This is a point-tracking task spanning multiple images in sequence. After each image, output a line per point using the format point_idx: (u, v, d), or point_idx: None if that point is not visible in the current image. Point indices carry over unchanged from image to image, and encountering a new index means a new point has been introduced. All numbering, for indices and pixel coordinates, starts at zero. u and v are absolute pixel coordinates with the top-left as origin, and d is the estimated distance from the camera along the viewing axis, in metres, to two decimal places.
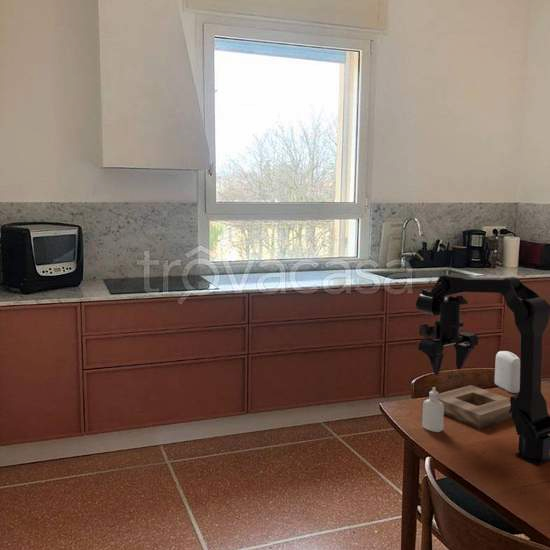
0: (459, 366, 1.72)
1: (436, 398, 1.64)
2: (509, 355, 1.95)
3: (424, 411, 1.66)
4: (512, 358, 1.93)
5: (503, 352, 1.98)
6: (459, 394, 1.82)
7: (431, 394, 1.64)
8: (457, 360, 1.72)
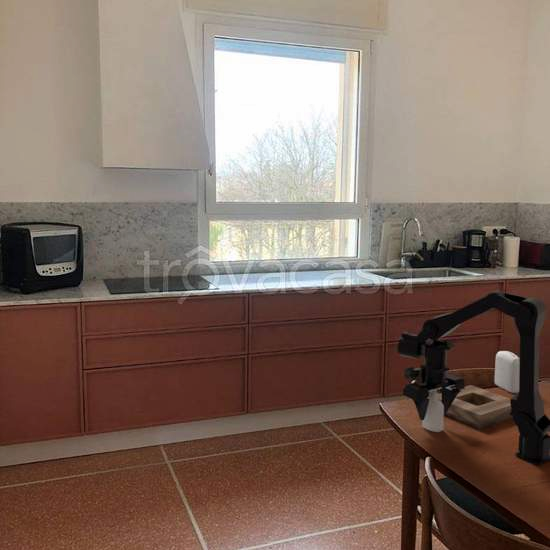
0: (444, 410, 1.67)
1: (436, 398, 1.64)
2: (509, 355, 1.95)
3: None
4: (512, 358, 1.93)
5: (503, 352, 1.98)
6: (459, 394, 1.82)
7: (431, 394, 1.64)
8: None
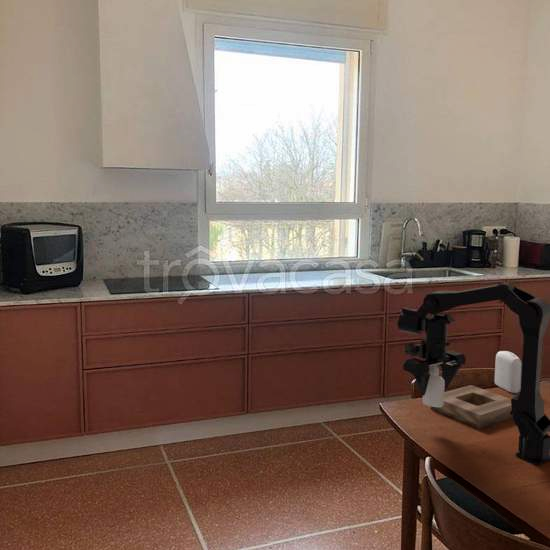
0: (445, 386, 1.66)
1: (437, 373, 1.63)
2: (509, 355, 1.95)
3: None
4: (512, 358, 1.93)
5: (503, 352, 1.98)
6: (459, 394, 1.82)
7: (432, 369, 1.63)
8: None
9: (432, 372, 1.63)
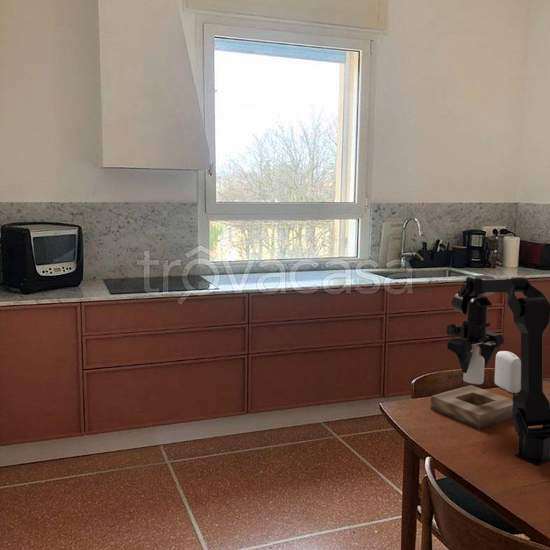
0: (484, 365, 1.78)
1: (478, 352, 1.74)
2: (509, 355, 1.95)
3: None
4: (512, 358, 1.93)
5: (503, 352, 1.98)
6: (459, 394, 1.82)
7: (473, 349, 1.74)
8: None
9: (473, 351, 1.74)
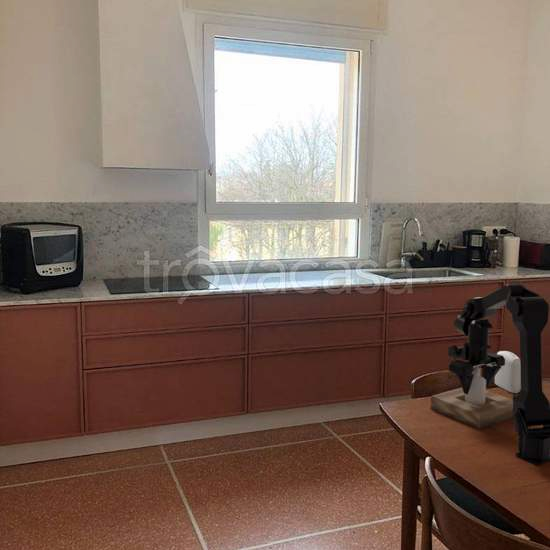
0: (486, 386, 1.79)
1: (479, 374, 1.76)
2: (509, 355, 1.95)
3: None
4: (512, 358, 1.93)
5: (503, 352, 1.98)
6: (459, 394, 1.82)
7: (474, 370, 1.76)
8: None
9: (474, 373, 1.76)
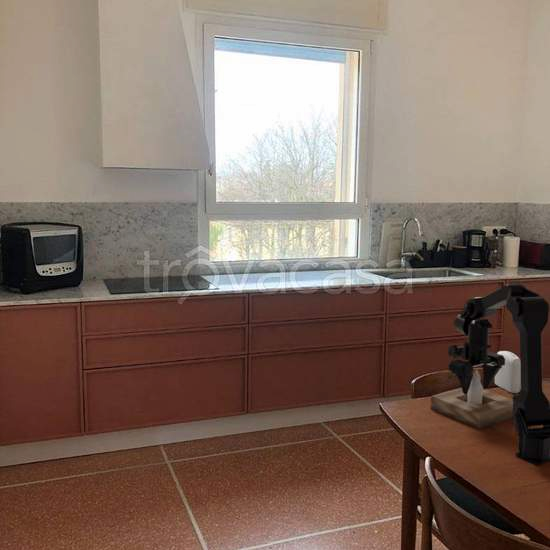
0: (486, 385, 1.79)
1: (476, 380, 1.75)
2: (509, 355, 1.95)
3: None
4: (512, 358, 1.93)
5: (503, 352, 1.98)
6: (459, 394, 1.82)
7: None
8: (484, 379, 1.80)
9: (472, 377, 1.76)
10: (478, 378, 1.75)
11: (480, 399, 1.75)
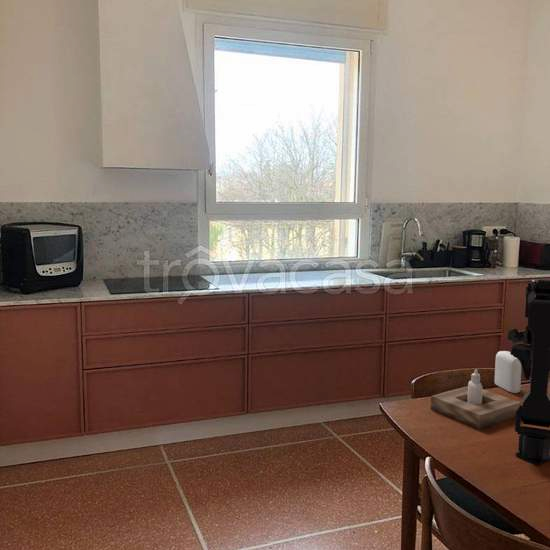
0: None
1: (475, 380, 1.76)
2: (509, 355, 1.95)
3: None
4: (512, 358, 1.93)
5: (503, 352, 1.98)
6: (459, 394, 1.82)
7: None
8: None
9: (471, 377, 1.77)
10: (478, 378, 1.76)
11: (480, 399, 1.75)
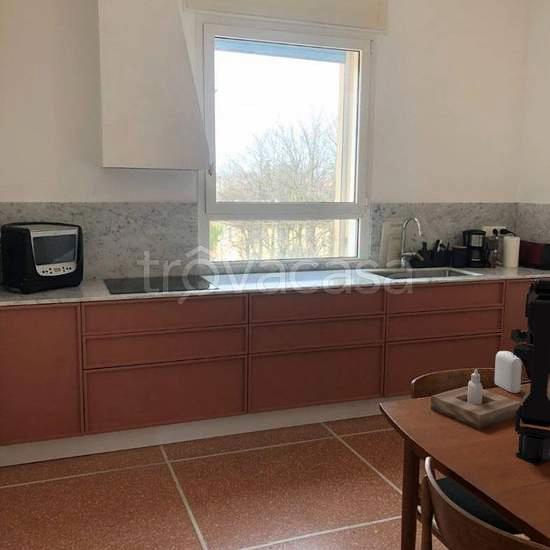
0: None
1: (475, 380, 1.76)
2: (509, 355, 1.95)
3: None
4: (512, 358, 1.93)
5: (503, 352, 1.98)
6: (459, 394, 1.82)
7: None
8: (548, 365, 1.73)
9: (471, 377, 1.77)
10: (478, 378, 1.76)
11: (480, 399, 1.75)
